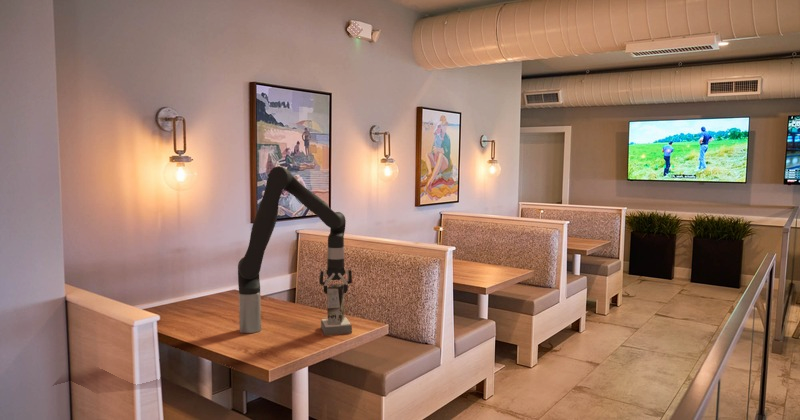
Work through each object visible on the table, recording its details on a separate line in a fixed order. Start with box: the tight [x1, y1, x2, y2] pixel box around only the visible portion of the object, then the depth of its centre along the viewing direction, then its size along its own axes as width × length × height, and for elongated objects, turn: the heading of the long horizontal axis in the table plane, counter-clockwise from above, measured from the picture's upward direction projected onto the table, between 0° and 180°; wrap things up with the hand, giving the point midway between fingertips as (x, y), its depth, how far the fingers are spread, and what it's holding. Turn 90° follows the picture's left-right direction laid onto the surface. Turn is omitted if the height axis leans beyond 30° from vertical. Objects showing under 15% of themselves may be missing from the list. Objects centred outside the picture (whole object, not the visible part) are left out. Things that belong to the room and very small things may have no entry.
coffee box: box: [326, 283, 345, 324], centre depth 251 cm, size 9×6×16 cm
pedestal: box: [320, 316, 353, 336], centre depth 252 cm, size 12×12×4 cm
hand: (335, 293), depth 250 cm, fingers open, 8 cm apart
